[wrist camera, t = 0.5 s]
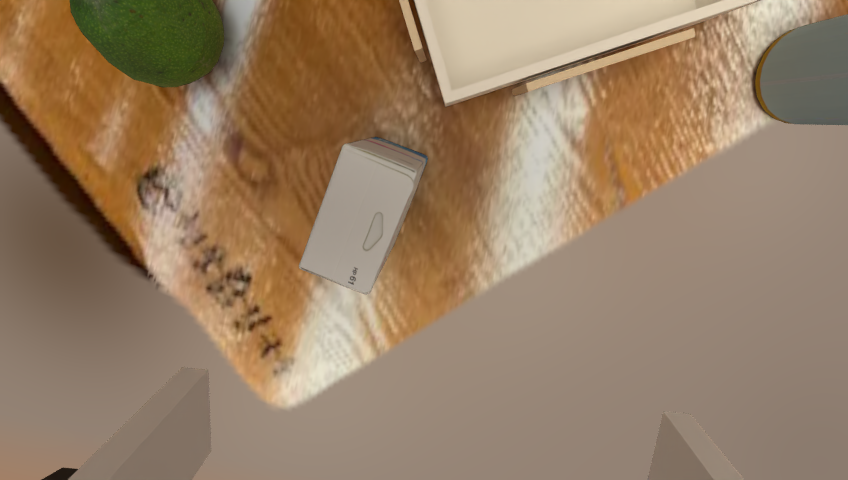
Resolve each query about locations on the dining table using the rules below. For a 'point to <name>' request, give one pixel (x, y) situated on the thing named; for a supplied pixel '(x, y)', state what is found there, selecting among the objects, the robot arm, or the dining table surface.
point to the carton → (543, 37)
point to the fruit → (154, 37)
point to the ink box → (362, 212)
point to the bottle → (807, 75)
